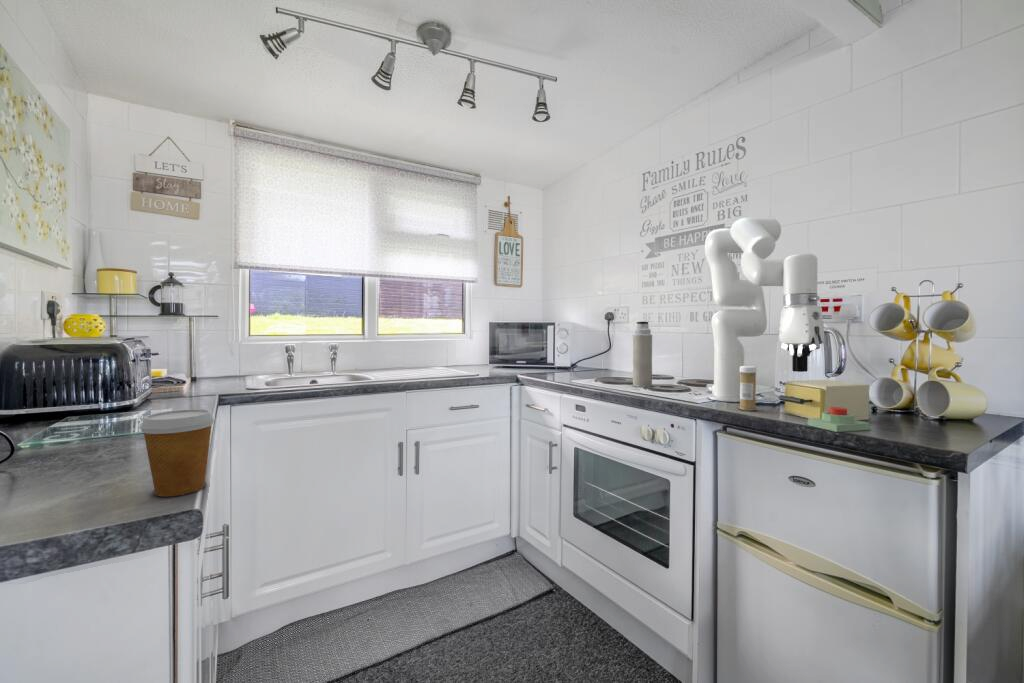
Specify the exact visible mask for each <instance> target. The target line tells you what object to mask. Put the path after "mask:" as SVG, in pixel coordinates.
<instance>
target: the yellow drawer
mask: <svg viewBox="0 0 1024 683" xmlns="http://www.w3.org/2000/svg"><path fill="white" fill-rule="evenodd" d="M784 388H785V389H784V395H783V394H780V395H779V396H778V399H779V401H782V402H784V412H786V413H787V412H792V413H796V414H801V415H806V416H810V417H815V418H822V412H824V389H820V388H813V387H806V386H799V385H789V384H787V383H786V384H784Z"/></svg>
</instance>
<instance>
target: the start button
mask: <svg viewBox="0 0 1024 683" xmlns="http://www.w3.org/2000/svg"><path fill="white" fill-rule="evenodd" d="M829 414H833V415H847V409H845V408H839V407H830V408H829Z"/></svg>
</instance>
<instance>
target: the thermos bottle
mask: <svg viewBox="0 0 1024 683" xmlns="http://www.w3.org/2000/svg"><path fill="white" fill-rule="evenodd" d="M651 333H652V331H651V329H650V328H649V321H637V322H636V328H635V329H634V333H633V335H632V386H633V387H637V388H651V387H653V334H651Z"/></svg>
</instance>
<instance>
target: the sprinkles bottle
mask: <svg viewBox="0 0 1024 683" xmlns="http://www.w3.org/2000/svg"><path fill="white" fill-rule="evenodd" d="M756 383H757V366H752V365H744V366H740V402H739V409H740V410H741V411H747V412H754V411H756V410H757V407H756V405H757V404H756V402H757V401H756V400H757V389H756V388H757V384H756Z"/></svg>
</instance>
